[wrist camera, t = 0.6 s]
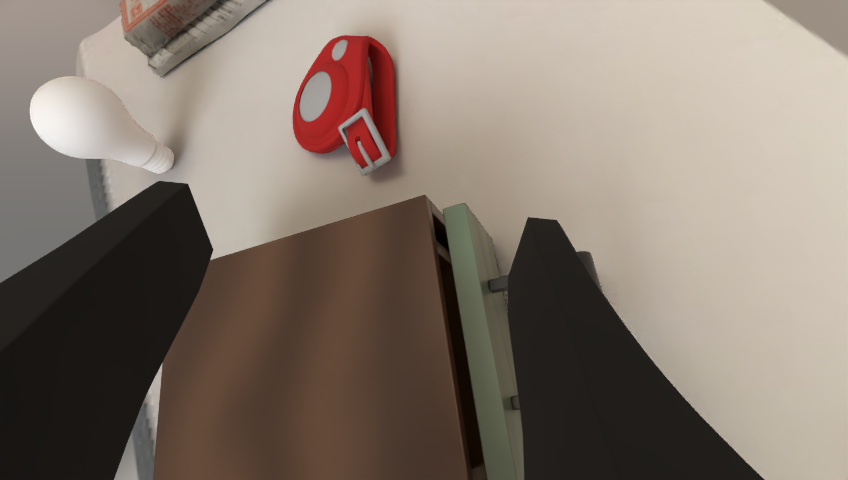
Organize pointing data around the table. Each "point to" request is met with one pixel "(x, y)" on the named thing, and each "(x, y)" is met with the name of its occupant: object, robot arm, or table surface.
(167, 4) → the packaged product
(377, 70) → the tracker holder
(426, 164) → the table surface
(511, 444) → the drawer
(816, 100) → the table surface
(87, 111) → the lightbulb
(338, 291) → the cabinet
